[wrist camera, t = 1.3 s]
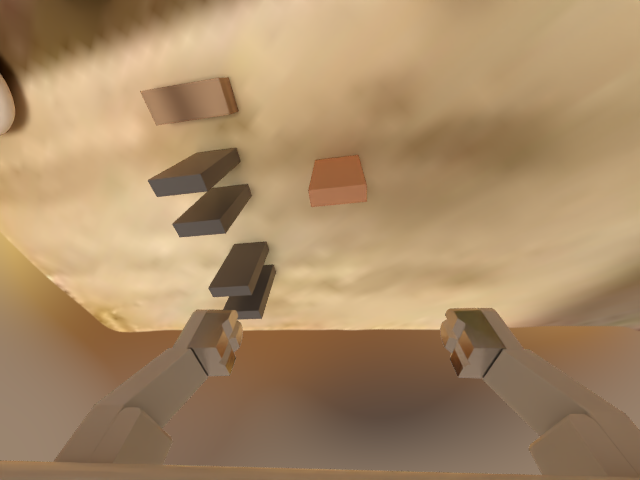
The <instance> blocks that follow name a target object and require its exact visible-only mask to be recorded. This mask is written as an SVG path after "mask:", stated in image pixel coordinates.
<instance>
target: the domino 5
mask: <svg viewBox="0 0 640 480" xmlns="http://www.w3.org/2000/svg"><path fill="white" fill-rule="evenodd" d="M308 191H309V197H310V203H311V207H315V206H325V205H336V204H346V203H356V202H366V201H367V184H366V181H365V177H364V174H363V170H362V167H361V163H360V160H359V156H358V155H353V156H344V157H336V158H328V159H319V160H315V164H314V168H313V173H312V177H311V181H310V185H309V190H308Z"/></svg>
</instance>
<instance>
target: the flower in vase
mask: <svg viewBox="0 0 640 480" xmlns="http://www.w3.org/2000/svg"><path fill="white" fill-rule="evenodd" d="M14 118H15V106H14V101H13V98H12V95H11V92H10V90H9V88H8V86H7V84H6V82H5V80H4V78H3V77H2V75H1V74H0V135H2V134H4V133H6V132H7V131H8V130H9V129H10V127H11V125H12V123H13V121H14Z"/></svg>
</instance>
